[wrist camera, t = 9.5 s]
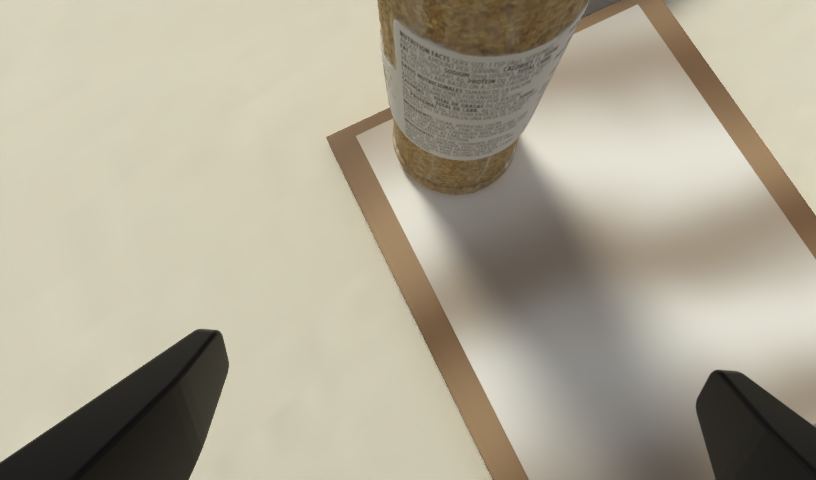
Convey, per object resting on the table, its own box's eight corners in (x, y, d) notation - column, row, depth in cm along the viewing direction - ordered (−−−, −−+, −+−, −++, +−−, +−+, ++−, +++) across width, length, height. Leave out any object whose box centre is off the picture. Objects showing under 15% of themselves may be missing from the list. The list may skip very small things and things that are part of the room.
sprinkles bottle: (418, 67, 18) (409, -689, 5) (534, 106, 17) (878, -613, 4) (373, 175, 17) (207, -386, 4) (493, 219, 17) (763, -250, 3)
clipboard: (947, 423, 15) (995, 430, 14) (569, 636, 14) (584, 664, 13) (645, -6, 19) (662, -31, 18) (328, 142, 18) (321, 127, 17)
